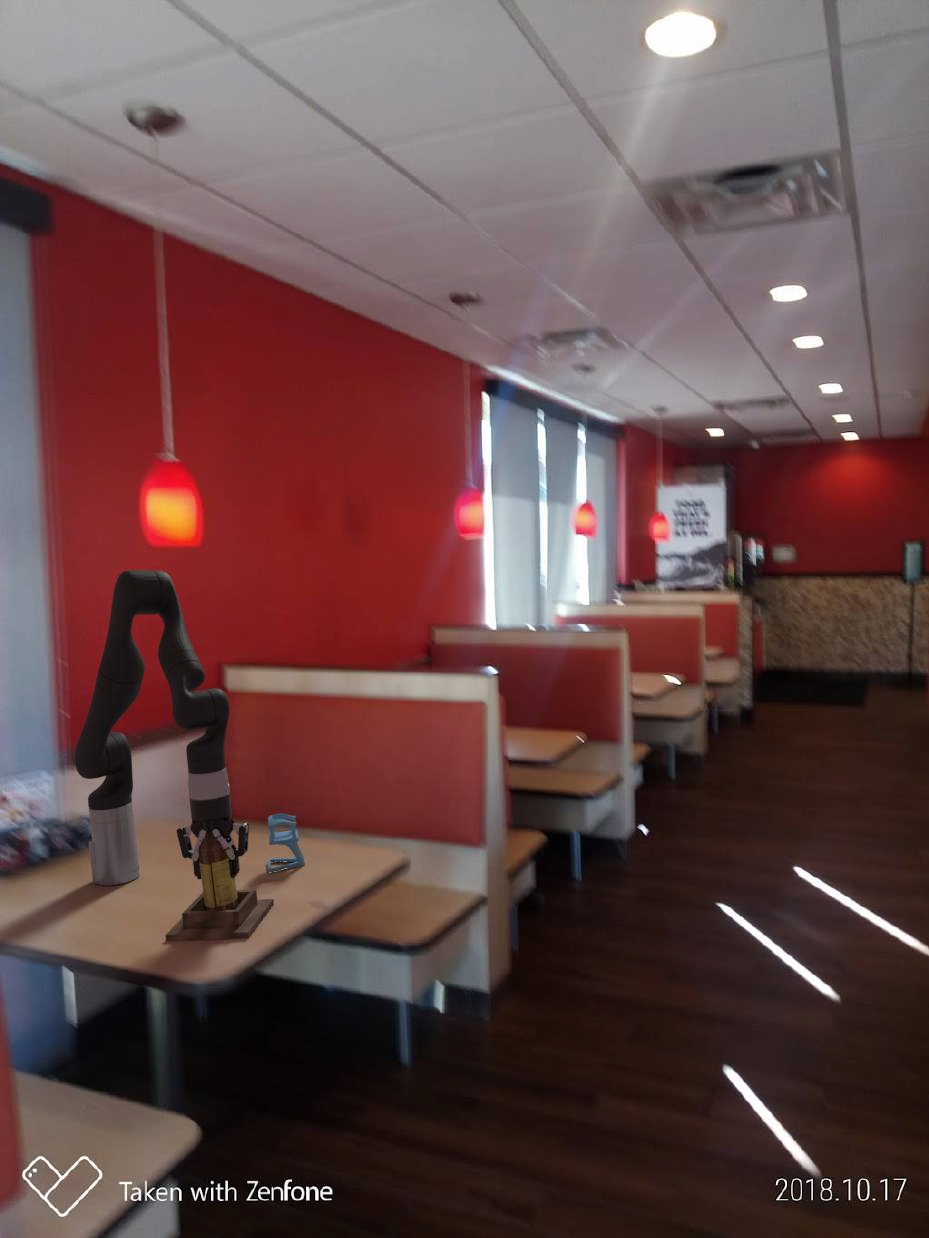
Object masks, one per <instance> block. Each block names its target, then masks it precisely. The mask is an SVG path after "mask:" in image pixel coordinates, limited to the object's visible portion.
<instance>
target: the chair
mask: <svg viewBox="0 0 929 1238" xmlns="http://www.w3.org/2000/svg"><path fill="white" fill-rule="evenodd" d="M296 818H297V816H296V815H289V814H287V813H276V814H272V815H271V814H270V815H269V816H268V817H267V825H268V828H269V833H268V842H269V843H268V845H269V846H276V845H279V846H280V845H281V846H286V847H287V848H289V850H290V851H291V852H292V854H293V855H294V857H282V858H279V857H278V858H277V857H276V858H268V859H267V873H268V872H274V871H278V870H281V869H284V868H291V869H293V868H292V867H295V868H298V867H297V866H299V867H303V865H304V866H305V865H306V863H305V857H304V855H303V853H302V851H301V849H300V846H299V844H298V842H299V833H298V829H297V827H296V826H297V823H298V822H296ZM281 826H289V827H290V828H291V830H287V831H281V832H275V828H277V827H281ZM275 861H276V862H280V861H281V862H283V861H287V862H294V863H286V864H282V865H280V866H275V867H272V863H271V862H275ZM271 867H272V868H271Z"/></svg>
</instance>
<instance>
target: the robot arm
mask: <svg viewBox="0 0 929 1238" xmlns="http://www.w3.org/2000/svg"><path fill="white" fill-rule="evenodd" d="M110 608H111V609H110V616H109V624H108V630H107V633H106V634H107V635H106V638H105V639H106V640H105V643H104V646H103V647H104V648H103V652H102V656H101V659H100V663H99V666H98V671H97V675H96V679H95V685H94V689H93V694H92V697H91V702H90V705H89V708H88V712H87V716H86V717H85V721H84V724H83V727H82V728H81V732H80V735H79V738H78V740H77V743H76V747H75V751H74V766H75V769H76V772H77V774H79V776H80V777H82V778H83V779H86V780H93V779H99V778H103V777H105V778H104V780H103V782H102V783H101V784H100V785H99V786H98V787H97V788H96V789H94V790H93V791H92V792H91V793H90V794H89V795H88V797H87V803H88V804H87V805H88V814H89V823H90V832H91V840H90V841H89V842H88V849H89V859H90V861H89V862H90V868H91V878H92V879H91V880H92V884H97V885H100V886H115V885H116V886H117V885H121V884H125V883H128V882H129V883H130V882H131V881H133V880H135V879H137V878H138V877H140V875H141V874H140V864H139V856H138V855H139V853H138V845H137V843H138V842H137V836H136V835H137V834H136V825H135V818H134V809H133V808H134V807H133V795H132V794H133V790H134V779H133V758H132V757H133V756H132V750H131V746H130V742H129V740H128V739H127V737H126V735H125V734H123V733H122V732H120V731H112V729H113V728H114V727H115V725H116V724H117V723H118V721H119V720H120V719H121V718H122V717H123V716H124V714H125V713H127V711H128V710H129V709H130V708H131V706H132V705H133V703H134V702H135V701H136V700H137V698H138V696H139V693H140V691H141V687H142V684H143V680H144V675H145V672H146V671H145V670H146V666H145V660H144V658H143V655H142V654H141V652H140V650H139V648H138V646H137V644H136V641H135V640H134V637H133V633H132V626H133V620H134V619H135V616H136V615H141V616H143V615H147V616H149V615H159V616H160V618H161V620H162V622H163V625H164V626H163V632H162V635H161V638H160V640H159V644H158V650H157V658H158V662H159V664H160V668H161V669H162V672H163V674H164V676H165V679H166V680H167V683H168V686H169V691H170V697H171V708H172V709H171V710H172V719H173V720H174V722H175V724H176V725H177V726H178V728H179V727H180V728H181V729H183V730H188V731H189V730H196V729H200V728H205V727H207V728H206V729H205V732H204V733H203V735H202V736H200V737H199V738H196V739H194V740H192V741H189V742H188V744H187V745H186V749H185V750H186V751H185V753H186V763H187V773H188V780H187V781H188V782H187V783H188V785H187V786H188V796H189V807H190V817H191V823H190V824H189V825H186V824H182V825H180V827H179V828H177V830H176V836H177V839H178V843H179V847H180V851H181V852H180V853H181V856H182V858H183V859H189V860H191V861H192V865H193V874H194V877H196V878H197V880H202V879H201V872H200V865H199V853H198V848H199V846H200V844H201V842H202V840H203V839H204V838H205V833H206V831H205V830H204V829H202V828H201V822H209V821H216V825H217V827H216V829H214V830H213V834H214V836H215V838H216V839H217V840H218V841H220V843H221V845H222V847H223V849H224V850H226V853H227V855H228V856H229V858H230V860H228V861H229V869H230V877H231V878H235V879H236V877H237V876H238V874H239V873H240V862H239V861H240V859H239V857H243V856H244V855H245V854H246V853H247V852H248V851H249V835H250V834H249V833H250V824H249V823H248V822H247V821H246V822H245V821H244V822H243V823H239V822H235V821H234V820H233V817H232V805H231V804H232V803H231V794H230V793H231V792H230V789H231V788H230V786H231V785H230V783H229V775H228V773H227V767H226V766H227V765H226V764H227V763H226V754H225V740H226V734H227V729H228V723H229V718H230V711H231V709H230V708H231V705H230V700H229V698H228V696H227V694H226V692H224V690H222V689H221V688H214V687H213V688H207V689H201V690H197V689H198V688H200V687H201V686H202V685H203V683H204V682H205V680H206V672H205V671H204V668H203V665H202V664H201V662H200V659H199V658H198V656H197V654H196V651H195V650H194V647H193V644H192V643H191V640H190V636H189V633H188V630H187V627H186V623H185V618H184V615H183V611H182V607H181V604H180V601H179V596H178V593H177V589H176V587H175V584H174V582H173V580H172V578H171V576H170V575H169V574H168V573H167V572H165V571H162V570H156V569H155V570H149V569H141V570H140V569H129V570H124V571H122V572H121V573H119V575H118V577H117V579H116V582H115V584H114V588H113V595H112V601H111V607H110ZM233 831H234V832H235V834H236V835H237V836H238V838H237V839H238V840H237V841H238V843H237V846H236V844H235V840H234V837H232V835H231V833H232V832H233ZM191 834H193V835H194V836H195V837H196V838H197V840H196V842H195V845H194V847H193V845H192V842H191ZM227 842H228V843H227ZM193 849H194V850H193Z"/></svg>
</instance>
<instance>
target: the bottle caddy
mask: <svg viewBox="0 0 929 1238" xmlns="http://www.w3.org/2000/svg"><path fill="white" fill-rule="evenodd" d="M257 892H258V891H257V889H241V890H240V889H239V890H237V896H238V898H237V902H238V906H237V908H236V909H234V910H214V911H207V909H206V906H205V901H204V894H203V892H201V893H200V894H199V896H198V897H196V899H194V900H193V902H192V903H190V905H189V906H187V908H186V909H185V910H184V911H183V912H182V913H181V918H180V919H179V920H178V921H177V922H176V924H174V926H172V927H171V928H170V930H169V931H168V932H167V933H166V934H164V936H165V942H182V941H183V942H184V941H186V940H187V941H208V940H209V941H213V940H214V939H215V940H238V939H237V938H239V940H241V939H240V938H247V939H250V938H251V936H252V935H253V933H254V932H255V931H256V930H257V928H258V927H259V925H260V924H261V923H262V922H263V920H264V919H265V918H266V916H267V913H268V914H269V912H270V911H269V910H271V909H272V908H273V907H274V905H275V901H274V898H265V899H258V894H257ZM271 907H272V908H271ZM264 917H265V918H264ZM263 918H264V919H263ZM261 921H262V922H261ZM255 929H256V930H255ZM249 937H250V938H249ZM235 938H236V939H235ZM187 941H186V942H187Z"/></svg>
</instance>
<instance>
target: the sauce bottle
mask: <svg viewBox="0 0 929 1238" xmlns="http://www.w3.org/2000/svg"><path fill="white" fill-rule="evenodd" d="M216 827H217V825H216V821H209V822H201V828H202V829H204V830H205V831H206V833H205V838H204V839H203V840H202V842H201V844H200V846H199V848H198V853H199V865H200V872H201V879H200V880H201V884H202V885H201V886H202V893H203V894H204V901H205V906H206V909H207V911H214V910H234V909H236V908H237V906H238V902H237V898H238V896H237V883H236V877H235V878H231V877H230V869H229V861H228V860H230V858H229V856H228V855H227V853H226V850H224V849H223V847H222V845H221V843H220V841H218V840H217V839H216V838H215V836H214V834H213V830H214V829H216ZM227 843H228V842H227Z"/></svg>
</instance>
